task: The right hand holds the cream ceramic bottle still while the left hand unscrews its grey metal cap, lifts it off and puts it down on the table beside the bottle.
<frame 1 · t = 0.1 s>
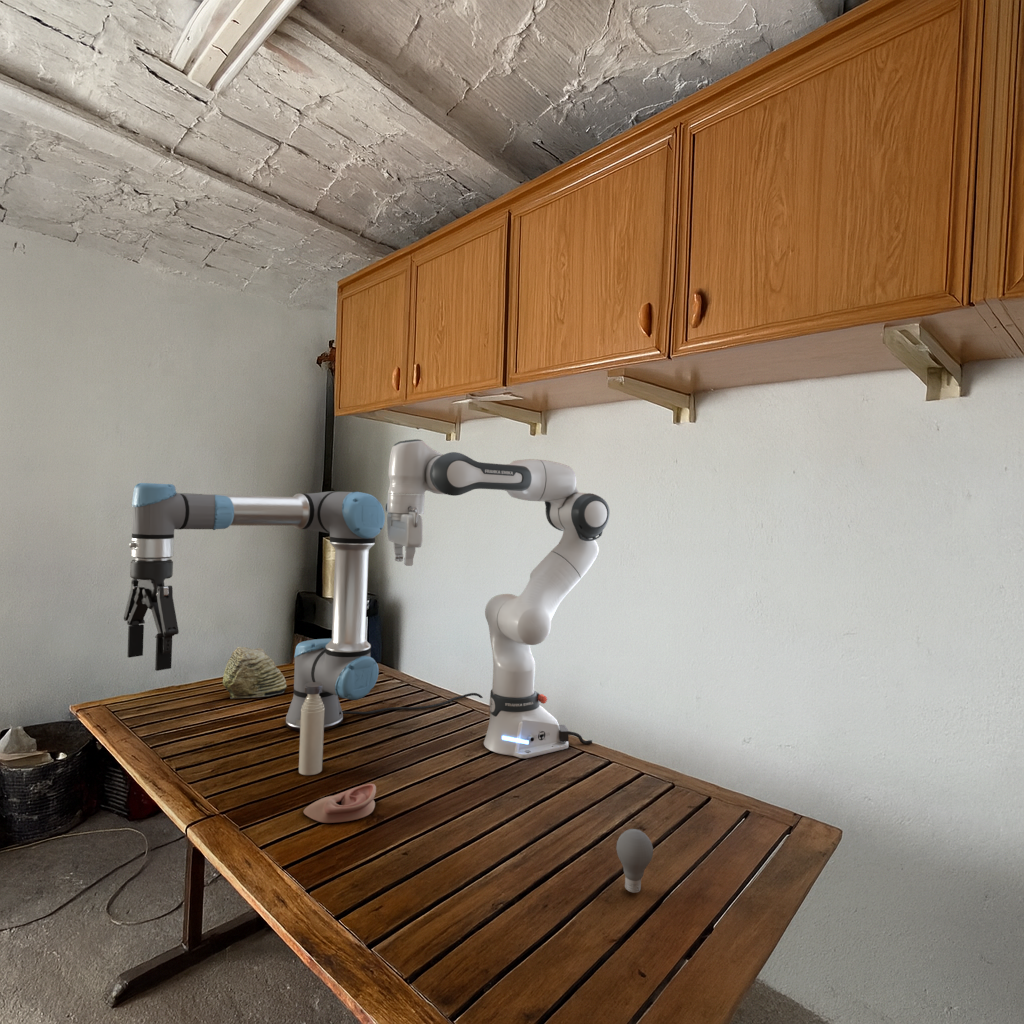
left hand: (148, 662, 129), 28 cm above the table, tool pointing down, fingers open, 13 cm apart
right hand: (403, 563, 153), 48 cm above the table, tool pointing down, fingers open, 8 cm apart
bottle: (310, 770, 146), on the table
light bulb: (632, 891, 106), on the table
fossil: (254, 694, 198), on the table
anatomical model: (340, 810, 128), on the table
cap: (313, 685, 146), point 20 cm above the table, screwed on, not yet turned
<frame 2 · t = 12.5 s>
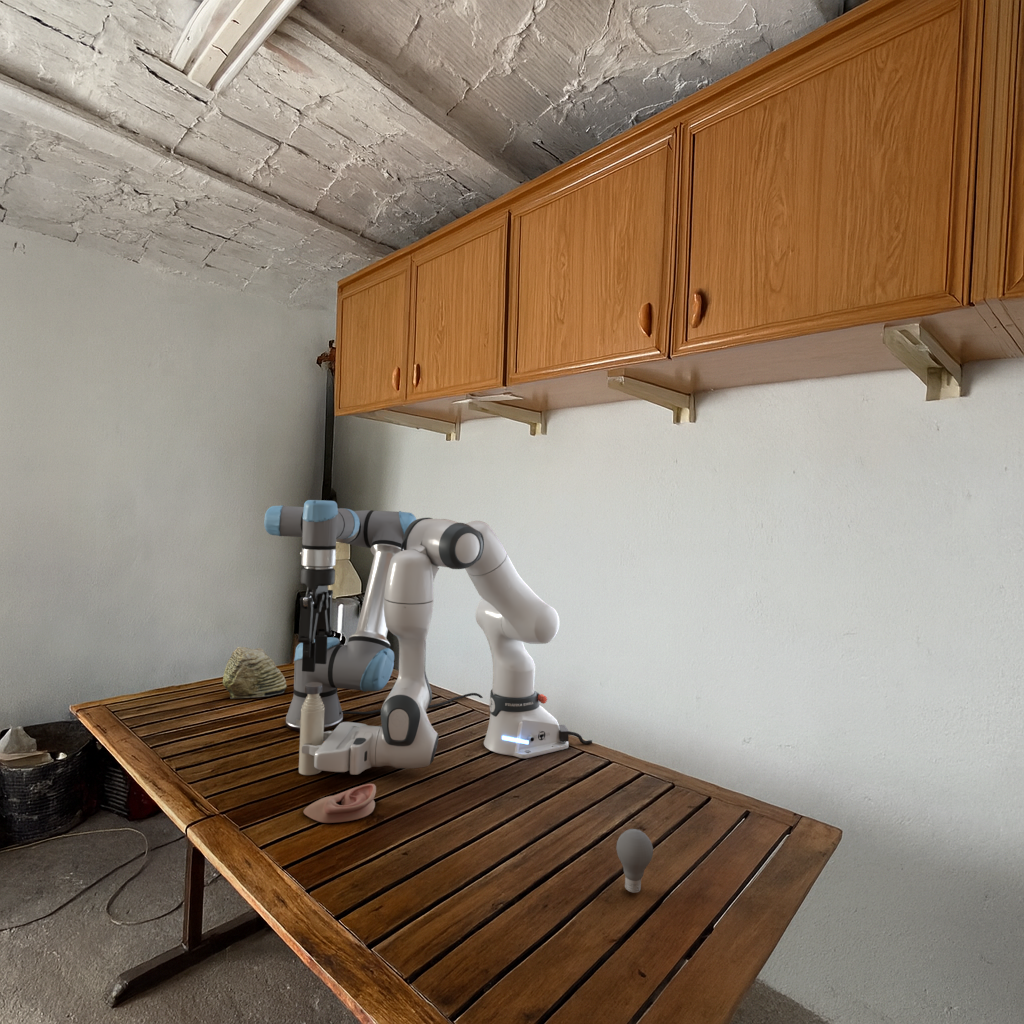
left hand: (314, 667, 146), 24 cm above the table, tool pointing down, fingers open, 6 cm apart
right hand: (307, 742, 146), 6 cm above the table, tool horizontal, fingers closed on bottle, 5 cm apart
bottle: (310, 770, 146), on the table, touching right hand
everything else where it was.
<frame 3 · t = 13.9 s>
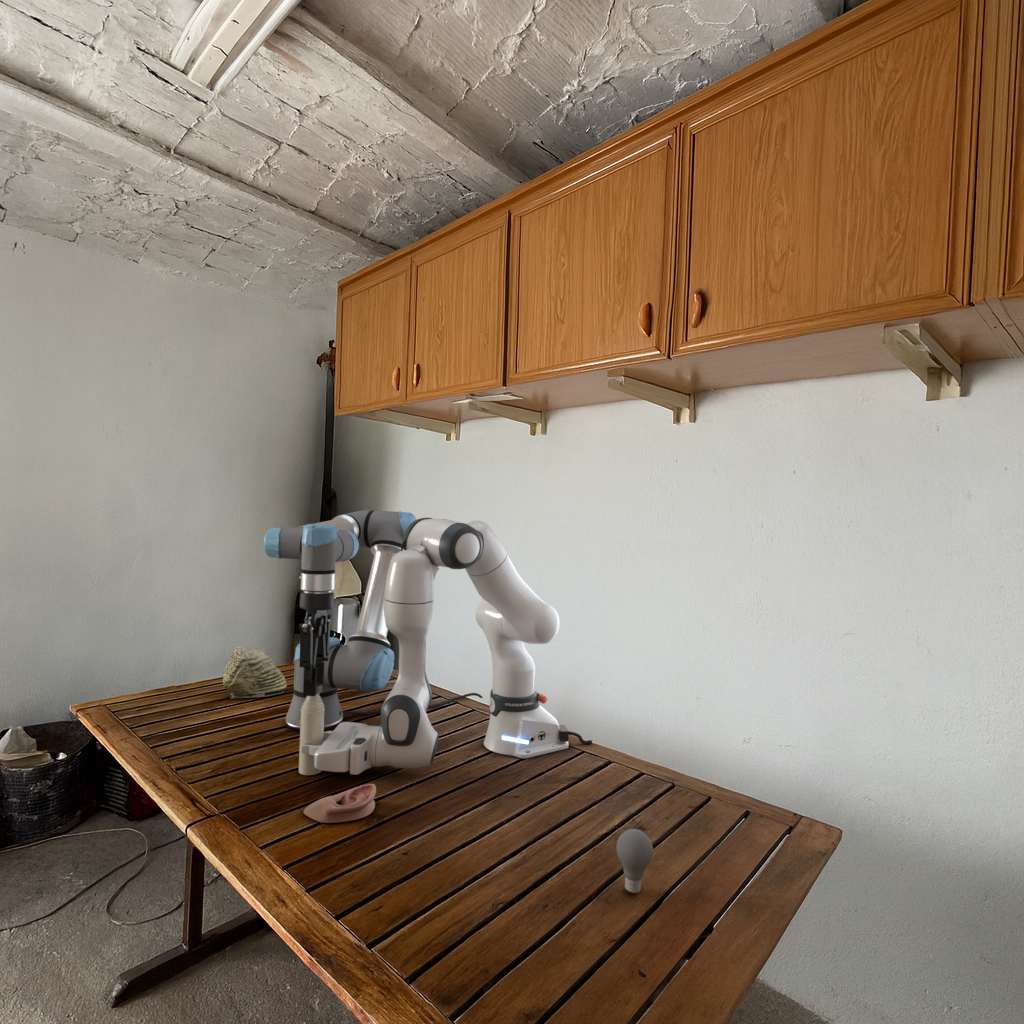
left hand: (313, 692, 146), 18 cm above the table, tool pointing down, fingers closed on cap, 4 cm apart
right hand: (307, 742, 146), 6 cm above the table, tool horizontal, fingers closed on bottle, 5 cm apart
bottle: (310, 770, 146), on the table, touching right hand
cap: (313, 685, 146), point 20 cm above the table, screwed on, not yet turned, touching left hand
everything else where it was.
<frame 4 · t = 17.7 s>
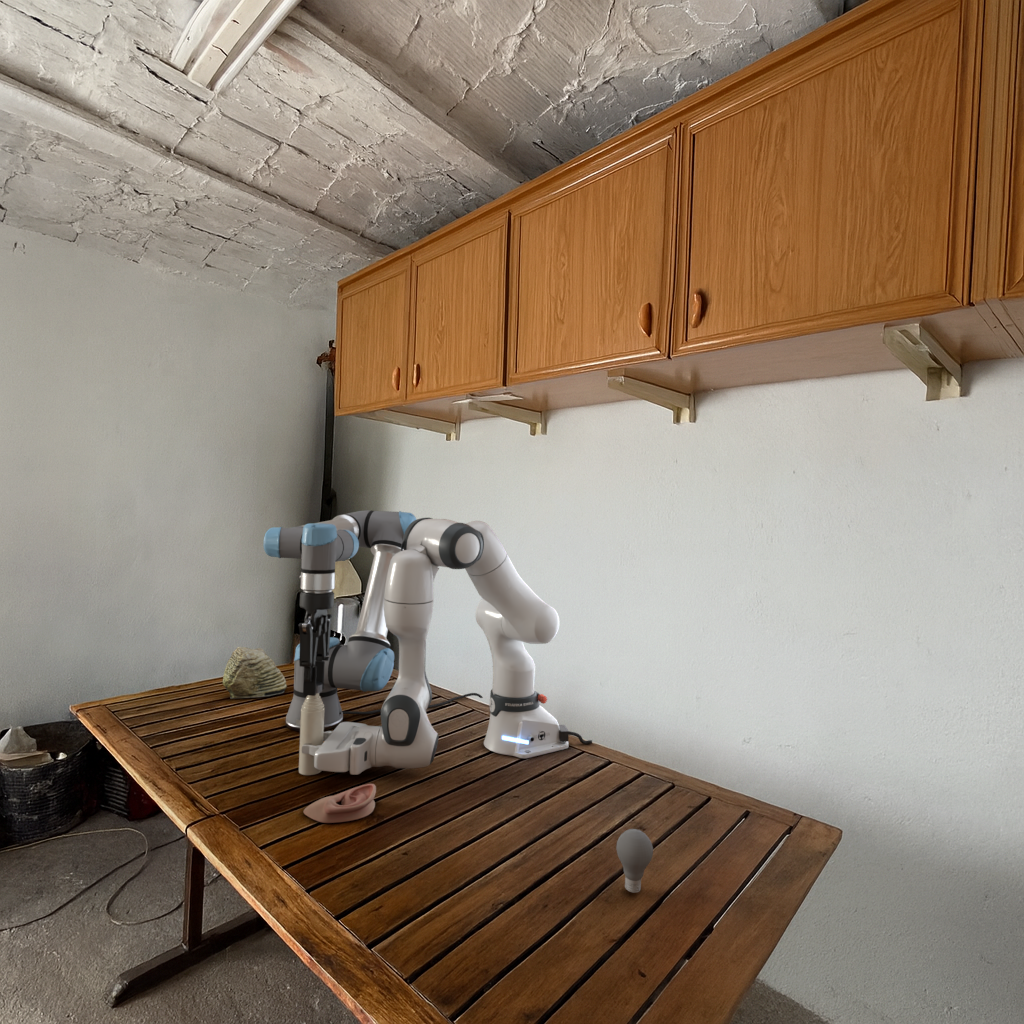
left hand: (313, 691, 146), 18 cm above the table, tool pointing down, fingers closed on cap, 4 cm apart
right hand: (307, 742, 146), 6 cm above the table, tool horizontal, fingers closed on bottle, 5 cm apart
bottle: (310, 770, 146), on the table, touching right hand
cap: (313, 685, 146), point 20 cm above the table, turned 126° so far, risen 0.1 cm, still on its thread, touching left hand
everything else where it was.
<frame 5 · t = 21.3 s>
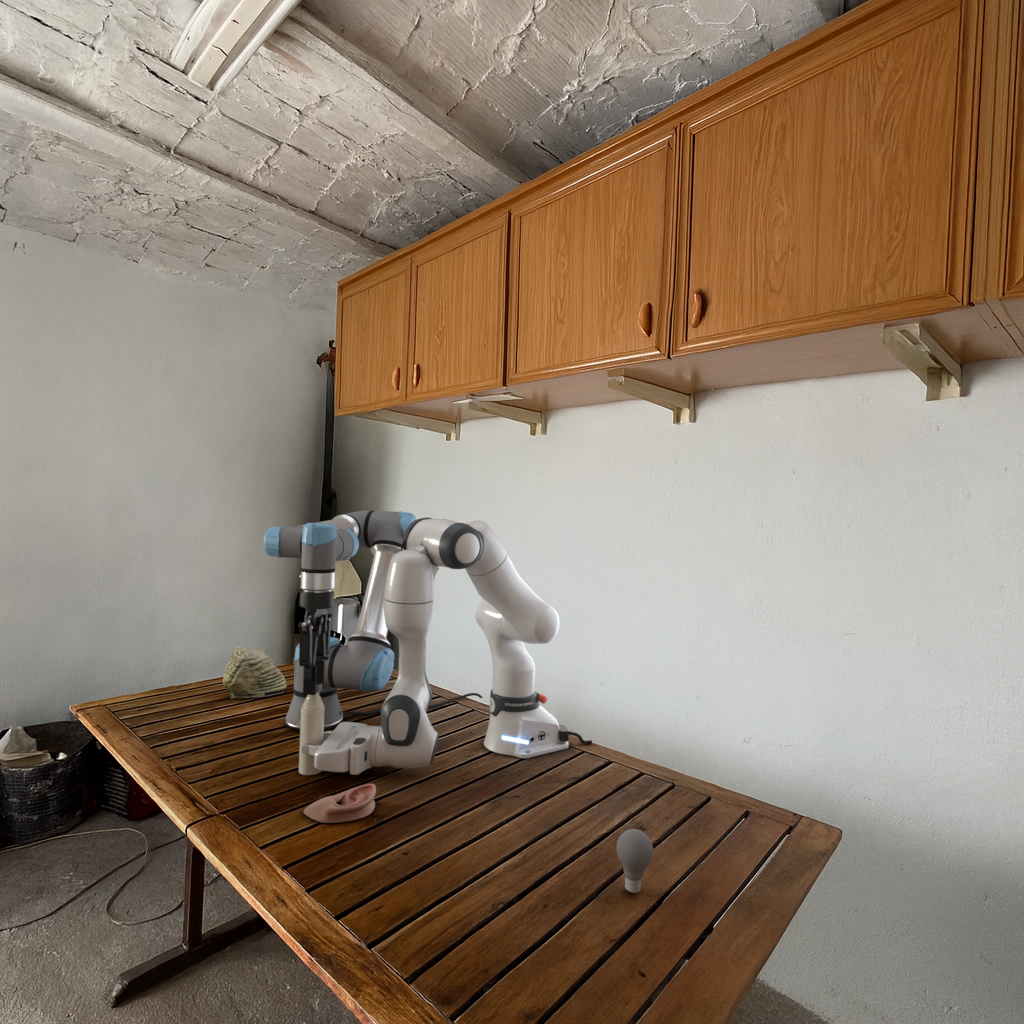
left hand: (313, 691, 146), 18 cm above the table, tool pointing down, fingers closed on cap, 4 cm apart
right hand: (307, 742, 146), 6 cm above the table, tool horizontal, fingers closed on bottle, 5 cm apart
bottle: (310, 770, 146), on the table, touching right hand
cap: (313, 684, 146), point 20 cm above the table, turned 251° so far, risen 0.3 cm, still on its thread, touching left hand
everything else where it was.
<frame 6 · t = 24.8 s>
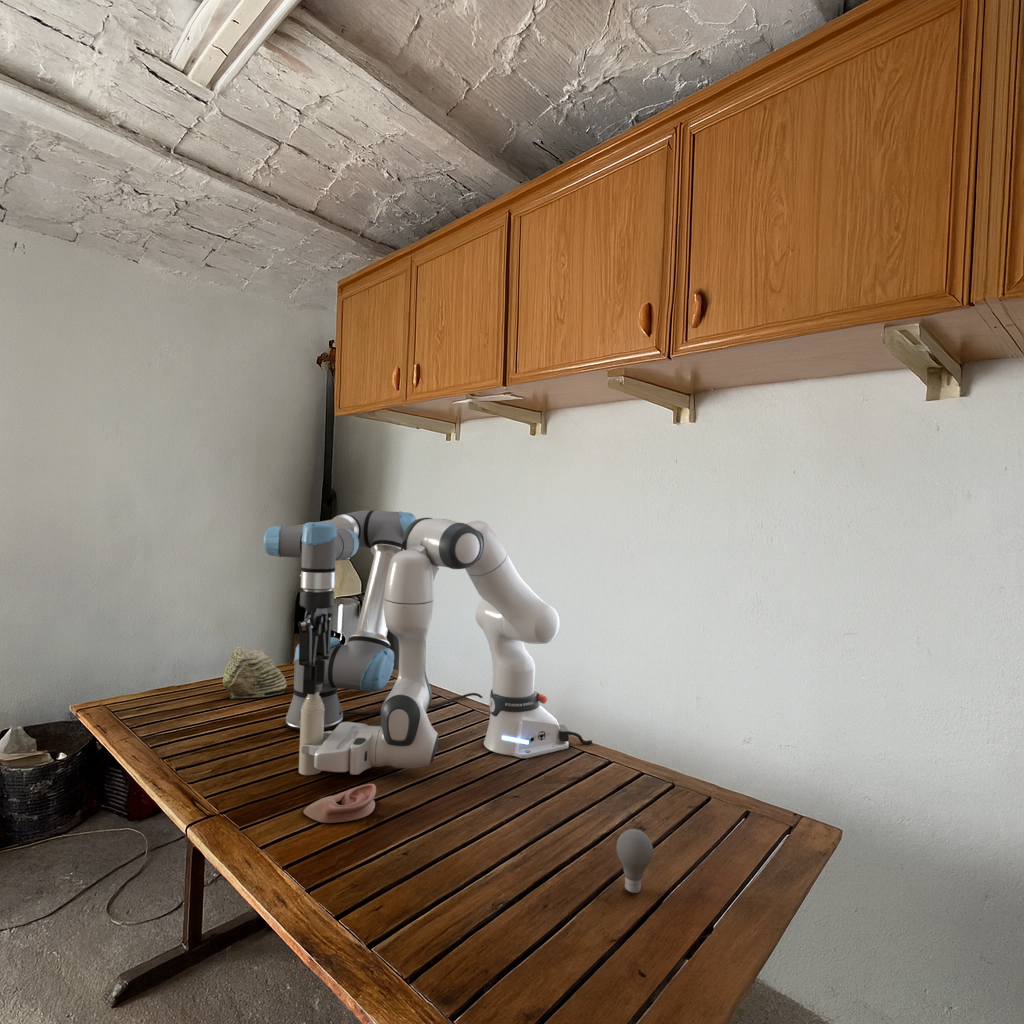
left hand: (313, 690, 146), 19 cm above the table, tool pointing down, fingers closed on cap, 4 cm apart
right hand: (307, 742, 146), 6 cm above the table, tool horizontal, fingers closed on bottle, 5 cm apart
bottle: (310, 770, 146), on the table, touching right hand
cap: (313, 684, 146), point 20 cm above the table, turned 377° so far, risen 0.4 cm, still on its thread, touching left hand
everything else where it was.
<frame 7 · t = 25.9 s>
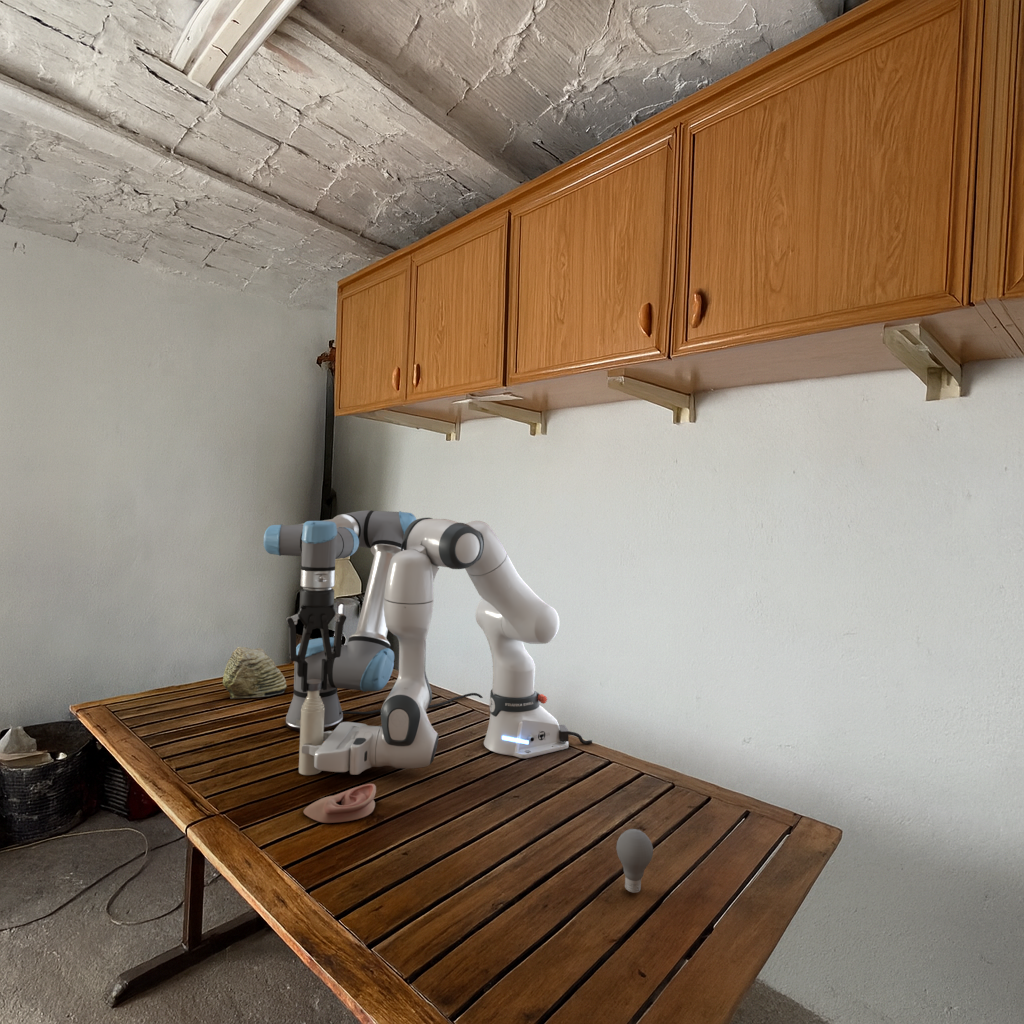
left hand: (313, 689, 146), 19 cm above the table, tool pointing down, fingers closed on cap, 4 cm apart
right hand: (307, 742, 146), 6 cm above the table, tool horizontal, fingers closed on bottle, 5 cm apart
bottle: (310, 770, 146), on the table, touching right hand
cap: (314, 682, 146), point 20 cm above the table, off its thread, touching left hand
everything else where it was.
when the left hand's fingers open (1 cm above the table, at t = 31.4 s): cap drops 1 cm, point 1 cm above the table.
when the right hand's fingers open (6 cm above the table, at t = 32.8 s): bottle stays where it is, on the table.
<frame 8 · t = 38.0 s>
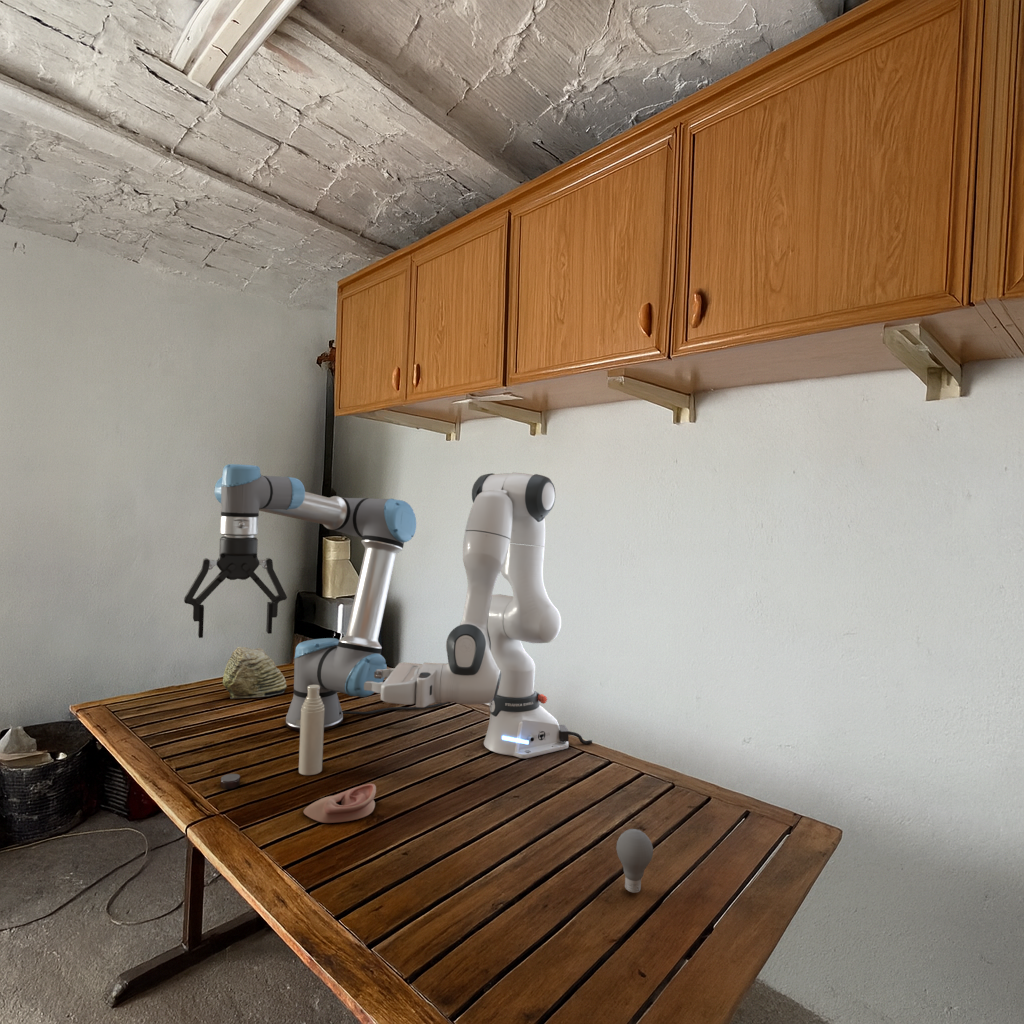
left hand: (235, 634, 137), 33 cm above the table, tool pointing down, fingers open, 13 cm apart
right hand: (369, 679, 146), 22 cm above the table, tool horizontal, fingers open, 8 cm apart
bottle: (310, 770, 146), on the table
cap: (230, 778, 137), point 1 cm above the table, off its thread
everything else where it was.
at the end: cap came off its thread; cap point 1.4 cm above the table; the left hand is holding nothing; the right hand is holding nothing; bottle tilted 0°; bottle moved 0.0 cm from its start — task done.
